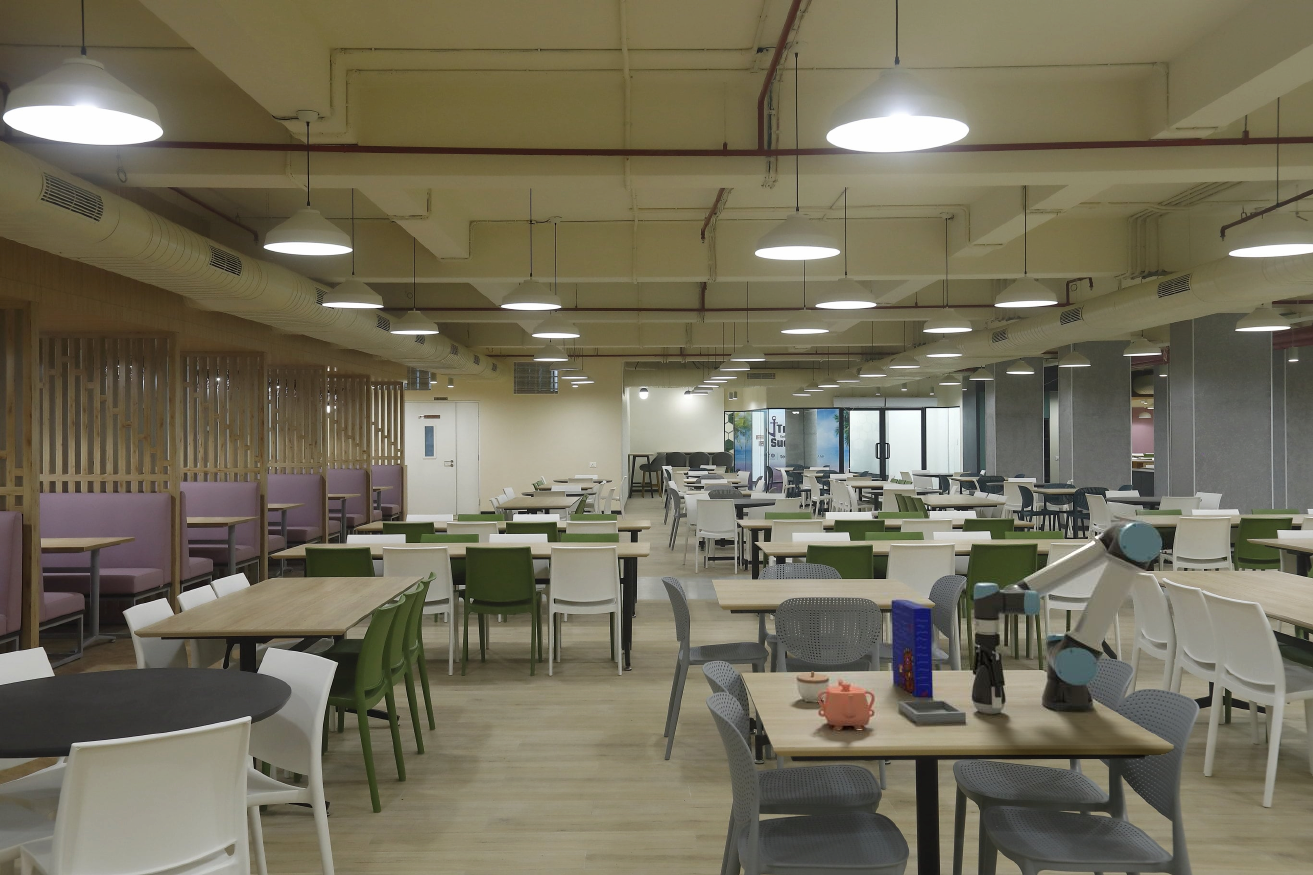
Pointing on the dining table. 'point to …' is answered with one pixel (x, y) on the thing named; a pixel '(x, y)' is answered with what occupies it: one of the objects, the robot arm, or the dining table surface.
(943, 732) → the dining table surface
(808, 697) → the lidded jar
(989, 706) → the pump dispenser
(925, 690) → the cereal box
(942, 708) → the tray
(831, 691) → the teapot
